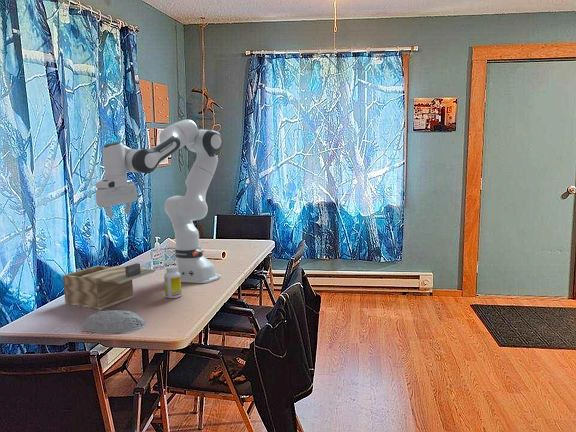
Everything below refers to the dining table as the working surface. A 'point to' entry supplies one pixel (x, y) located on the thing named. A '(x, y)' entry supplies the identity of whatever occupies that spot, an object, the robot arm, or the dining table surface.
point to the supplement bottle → (172, 282)
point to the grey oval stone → (114, 322)
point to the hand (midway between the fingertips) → (119, 214)
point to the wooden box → (94, 290)
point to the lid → (119, 274)
